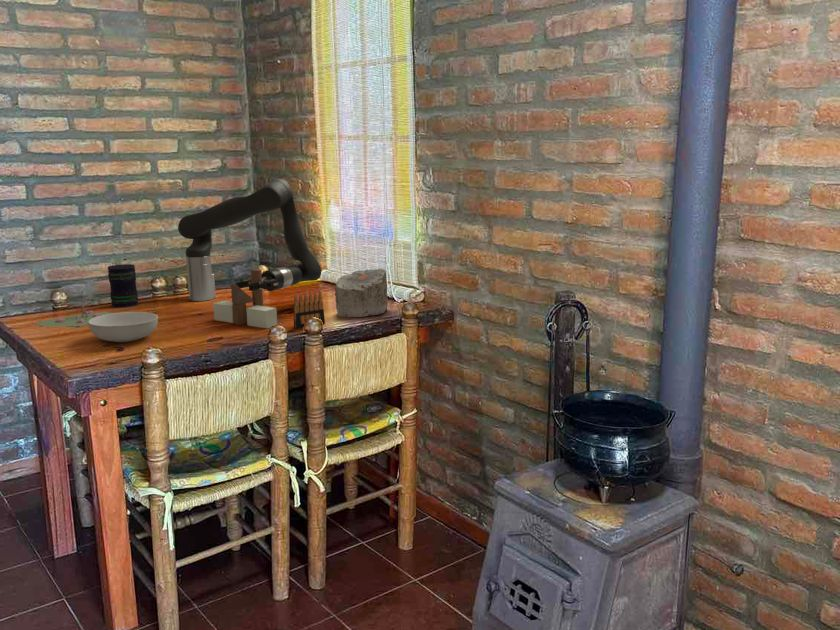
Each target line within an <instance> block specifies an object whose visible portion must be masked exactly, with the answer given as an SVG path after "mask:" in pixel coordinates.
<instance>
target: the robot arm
mask: <svg viewBox="0 0 840 630" xmlns="http://www.w3.org/2000/svg"><path fill="white" fill-rule="evenodd" d="M293 194H294V193H293V189H292V188H291V186H290V184H289V182H288V181H286V180H285V179H283V178H274V179H273V180H271V181H269V182H268V183H267V184H265V185H264V186H262V187H261V188H259V189H258V190H257V191H255V192H252V193H251V194H249V195H246V196H235V197H234V196H233V197H232V198H231V197H230V198H229V199H225V200H224V201H222V202H220V203H218V204H215V205H213V206H210V207H209V208H207V209H205V210H203V211H200V212H197V213H193V214H187V215H185V216H183V217H182V218H181V219H180V220H179V222H178V224H177V229H178V233H179V234H180V235H181V236H182V238H185V239H188V240H192V242H191V244H190V245H189V246H188V247H187V248H186V249H185V259H186V261H185V262H186V269H187V270H186V273H187V283H188V285H187V286H188V293H189V295H188V297H189V300H190V301H192V302H203V301H204V302H205V301H210V300H213V299H214V298H217V295H216V286H215V285H216V283H215V274H214V273H213V270H212V269H213V267H212V259H211V257H212V256H211V250H212V247H213V241H212V238H213V237H212V236H213V235H212V233H213V232H212V230H215V229H221V228H225V227H226V228H227V227H230V226H233V225H236V224H238V223H241V222H244V221H246V220H249V219H250V218H252V217H254V216H256V215H258V214H262V213H266V212H272V211H275V210H278V209H280V212H281V217H282V222H283V237H284V242H285V244H286V246H287V250H288V252H289V254H290V257H291V258H292V259H293V260H294V261H299V263H296V264H295V263H294V264H293V265H289V266H284V267H283V266H282V267H275V268H271V269H266V270H264V271H263V272H261V276H262V282H258V283H253V284H251V276H249V277H244V278H241V279H240V280H239V281H238V282H235V283H234V284H236V285H237V286H238V287H239V288H240V289H244V288H248V290H249V291H251V292H252V291H253V290H257V289H260V290H261V289H262V290H264V291H267V292H273V291H277V290H282V289H285V288H288V287H290V286H294V285H295V286H296V285H297V284H299V283H301V282H313V281H317V280H320V278H321V277H322V276H321V275H322V267H321V264H320V263H319V261H318V259H317V258H316V257H315V255H314V254H313V252H311V250H310V248H309V246H308V243H307V241H306V239H305V236H304V234H303V231H302V228H301V224H300V220H299V216H298V211H297V208H296V204H295V199H294V196H293Z"/></svg>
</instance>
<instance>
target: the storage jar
mask: <svg viewBox="0 0 840 630" xmlns="http://www.w3.org/2000/svg"><path fill="white" fill-rule="evenodd" d="M123 261H127V258H123ZM107 273H108V274H107V277H108V281H109V286H110V293H109V294H110V302H111V307H112V308H117V309H118V308H123V309H124V308H131V307H135V306H138V305H139V299H138V298H139V295H138V289H137V283H136V280H137V274H136V266H135V264H130V263H129V264H114V265H109V266H108V267H107Z"/></svg>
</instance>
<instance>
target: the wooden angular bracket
mask: <svg viewBox="0 0 840 630" xmlns="http://www.w3.org/2000/svg"><path fill="white" fill-rule="evenodd" d="M261 275H262V269H261V268H252V269H250V277H251V284H253V283H258V282H262V276H261ZM230 291H231V302H232V303H233V304H232V306H233V320H234V323H233V324H235V325H237V326H241V325H245V324H246V325H247V311H246V308H247V304H249V303H252V306H256V305H259V306H264V295H263V294H264V293H263V289H261V290H260V289H257V290H253V291H251V296H249V294H248V293H246V292H245V291H244V290H243V288H239V287H238V286H237V285H236V284H235V283H232V282H231V283H230Z"/></svg>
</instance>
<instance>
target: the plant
mask: <svg viewBox="0 0 840 630" xmlns="http://www.w3.org/2000/svg"><path fill="white" fill-rule="evenodd" d="M84 297H85V295H83V298H82V299H81V302H80V305H79V304H77V305H76V306H75V308H78V310H80V312H81V313H80V314H75V315H68V316H63V317H57V318H52V319H47V320H41V321H36V322H34V324H35V325H37V326H41V327H44V328H47V327H51V328H52V327H82V326H83V327H84V326H89V324H88V321H89V320H90V319H92V318H94V317H97V316H101V315H105V314H111V313H112V312H110V311H102V312H94V311H93V310H87V307H88V305H89V304H90V303H89V301H90V299H85V298H84ZM86 302H88V303H87V304H86ZM79 306H80V307H79Z"/></svg>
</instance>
